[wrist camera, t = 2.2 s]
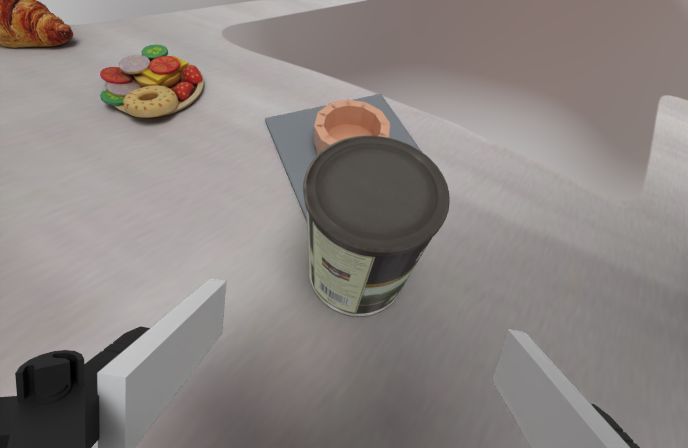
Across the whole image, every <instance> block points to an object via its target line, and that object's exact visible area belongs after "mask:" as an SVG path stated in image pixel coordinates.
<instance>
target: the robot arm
mask: <svg viewBox="0 0 688 448" xmlns="http://www.w3.org/2000/svg"><path fill="white" fill-rule="evenodd" d="M225 293H226V281H224V280H219V279H213V278H210V279H209V280H207V281H206V282H205V283H204V284H203V285H201V286H200V287H199V288H198V289H197V290H196V291H194V292H193V293H192V294H191V295H190V296H188V297H187V298H186V299H185V300H184V301H182V302H181V303H180V304H179V305H178V306H176V307H175V308H174V309H173V310H172V311H170V312H169V313H168V314H167V315H166V316H165V317H163V318H162V319H161V320H160V321H159V322H157V323H156V324H155V325H154V326H153V327H151V328H146V327H138V328H136V329H134V330H131V331H129V332H127V333H125V334H123V335H122V336H121V337H119V338H118V339H117V340H116V341H114V342H113V344H110V345H109V346H108V347H106V348H105V349H104V351H101V352H100V353H99V354H97V355H96V356H95V357H93V358H92V359H91V360H90V361H88V362H87V363H86V364H84V358H83V356H82V354H80V353H78V352H76V351H68V350H63V351H53V352H50V353H46V354H42V355H39V356H37V357H35V358H33V359H30V360H28V361H27V362H26V363H24V364H23V365H22V366H20V367H19V369H18V370H17V372H16V373H15V375H16V388H17V396H12V397H0V448H91V447H92V446H93V445H94V444H95V443H96V442H97V441H98V448H135V447H136V446H137V445H138V443H139V442H140V441H141V439H142V438H143V437H144V435H145V434H146V433H147V431H148V430H149V429H150V428H151V426H152V425H153V424H154V422H155V421H156V420H157V418H158V417H159V416H160V414H161V413H162V412H163V410H164V409H165V408H166V407H167V405H168V404H169V403H170V401H171V400H172V399H173V397H174V396H175V395H176V393H177V392H178V391H179V389H180V388H181V387H182V386H183V384H184V383H185V382H186V380H187V379H188V378H189V376H190V375H191V374H192V372H193V371H194V370H195V369H196V367H197V366H198V365H199V363H200V362H201V361H202V359H203V358H204V357H205V355H206V354H207V353H208V351H209V350H210V349H211V348H212V346H213V345H214V344H215V342H216V341H217V340H218V338H219V337H220V336H221V334H222V328H223V317H224V305H225ZM493 382H494V384H495V386H496V388H497V389H498V391H499V393H500V395H501V396H502V398H503V400H504V402H505V403H506V405H507V407H508V408H509V410H510V412H511V414H512V415H513V417H514V419H515V421H516V422H517V424H518V426H519V428H520V429H521V431H522V433H523V435H524V436H525V438H526V440H527V441H528V443H529V445H530V447H531V448H640V447H639V446H638V445H637V444H635V443H633V440H632V439H631V438H630V437H629V436H628V435H627V434H626V433H625V432H623V429H622V428H621V427H620V426H619V425H618V424H617V423H616V422H615V421H614V420H613V419H612V418H611V417H610V416H609V415H608V414H606V413H605V412H604V411H602V410H601V409H600V408H598V407H597V406H596V405H594V404H590V403H589V402H588V401H587V400H586V399H585V397H584V396H583V395H582V394H581V393H580V392H579V391H578V390H577V389H576V388H575V386H574V385H573V384H572V383H571V382H570V381H569V380H568V379H567V378H566V377H565V376H564V374H563V373H562V372H561V371H560V370H559V369H558V368H557V367H556V366H555V365H554V363H553V362H552V361H551V360H550V359H549V358H548V357H547V356H546V355H545V354H544V352H543V351H542V350H541V349H540V348H539V347H538V346H537V345H536V344H535V343H534V341H533V340H532V339H531V338H530V337H529V336H528V335H527V334H526V333H525V332H523V331H517V330H511V329H508V331H507V334H506V338H505V341H504V344H503V347H502V351H501V354H500V357H499V361H498V364H497V367H496V371H495V374H494V377H493Z"/></svg>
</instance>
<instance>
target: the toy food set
mask: <svg viewBox="0 0 688 448" xmlns="http://www.w3.org/2000/svg"><path fill="white" fill-rule="evenodd" d="M167 55H168V50H167V48H166V47H165V46H162V45H150V46H147V47H145V48H144V49H143V50H142V55H132V56H128V57H126V58H124V59H122V60H121V61H120V62H119V67H109V68H105V69H103V70H102V71H101V72H100V76H101V78H102V79H103V80H105V81H107V82H108V83H107V85H106V91H103V92H102V93H101V95H100V97H101V100H102V101H103V102H105V103H107V104H110V105H113V106H115V107H116V108H117V109H119V110H121V111H123V112H125V113H128V114H130V115H132V116H136V117H158V116H165V115H169V114H173V113H175V112H178V111H180V110H182V109H184V108H186V107H187V106H189V105H190V104H191V103H193V102H194V101H195V99H196V98H197V97H198V96H199V95H200V93H201V91H202V89H203V85H204V80H203V76H202V74H201V72H200V71H199V70H198V68H197V67H195V66H193V65H191V64H190V63H187V62H186V61H183V60H181V59H179V58H177V57H175V56H167Z"/></svg>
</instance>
